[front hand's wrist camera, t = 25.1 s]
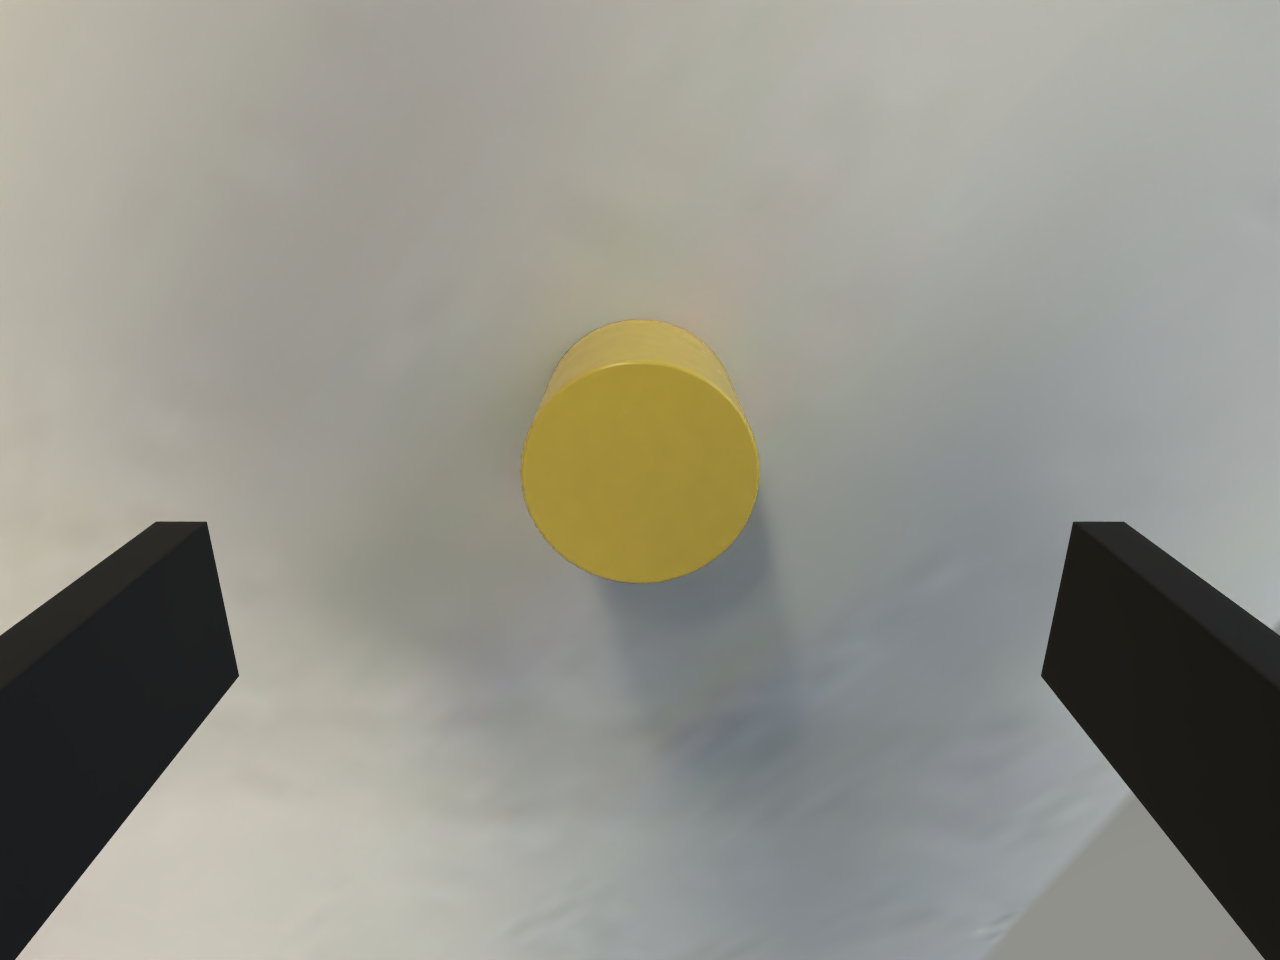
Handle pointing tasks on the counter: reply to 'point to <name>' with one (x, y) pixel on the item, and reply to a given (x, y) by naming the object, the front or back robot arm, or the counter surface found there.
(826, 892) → the counter surface
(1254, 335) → the counter surface
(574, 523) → the cylinder
